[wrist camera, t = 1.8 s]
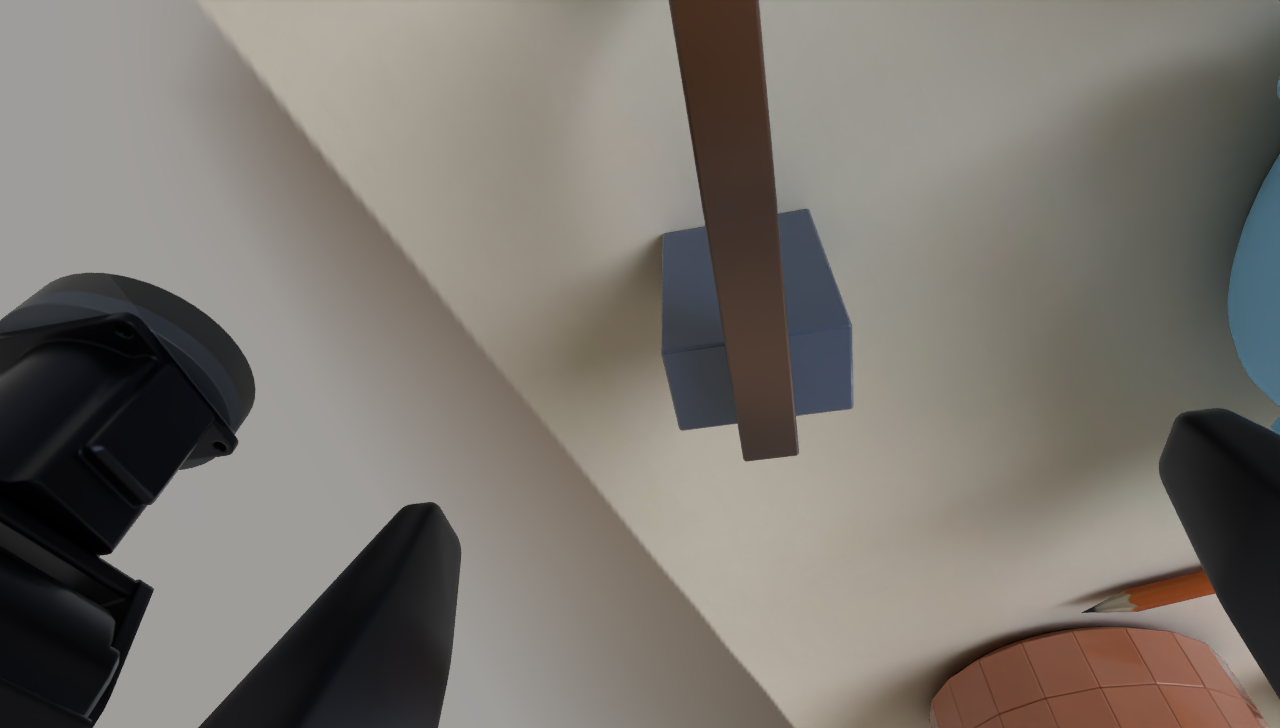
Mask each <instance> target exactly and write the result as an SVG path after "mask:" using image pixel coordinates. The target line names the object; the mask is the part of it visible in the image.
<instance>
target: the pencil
mask: <svg viewBox="0 0 1280 728" xmlns="http://www.w3.org/2000/svg"><path fill="white" fill-rule="evenodd" d="M1210 594H1215V591H1214V589H1213V587H1212V585H1211V583H1210V582H1209V579H1208V577H1207V575H1206V573H1205V571H1201V572H1197V573H1193V574H1189V575H1185V576H1180V577H1176V578H1172V579H1168V580H1164V581H1160V582H1156V583H1152V584H1148V585H1144V586H1140V587H1136V588H1132V589H1127V590H1125V591H1123V592H1121V593H1119V594H1117V595H1115V596H1113V597H1111V598H1109V599H1107V600H1105V601H1103V602H1101V603H1099V604H1097V605H1095V606H1094V607H1092V608H1090V609H1088V610H1086V611H1084V612H1082V613H1089V612H1097V613H1098V612H1138V611H1142V610H1146V609H1151V608H1155V607H1159V606H1164V605H1168V604H1172V603H1176V602H1181V601H1185V600H1189V599H1193V598H1198V597H1202V596H1206V595H1210Z"/></svg>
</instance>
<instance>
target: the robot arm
mask: <svg viewBox="0 0 1280 728" xmlns="http://www.w3.org/2000/svg"><path fill="white" fill-rule="evenodd" d="M125 326H126V327H125ZM237 445H238V440H237V438H236V436H235V435H234V434H233V433H232V431H231V430H230V429H229V428H228V426H227V425H226V424H225V423H224V421H223V420H222V419H221V418H220V416H219V415H218V414H217V413H216V411H215V410H214V409H213V408H212V406H211V405H210V404H209V403H208V401H207V400H206V399H205V398H204V396H203V395H202V394H201V393H200V391H199V390H198V389H197V388H196V386H195V385H194V384H193V383H192V381H191V380H190V379H189V378H188V376H187V375H186V374H185V373H184V371H183V370H182V369H181V368H180V366H179V365H178V364H177V363H176V361H175V360H174V359H173V358H172V357H171V355H170V354H169V353H168V352H167V350H166V349H165V348H164V347H163V345H162V344H161V343H160V342H159V340H158V339H157V338H156V337H155V335H154V334H153V333H152V332H151V330H150V329H149V328H148V327H147V325H146V324H145V323H144V322H143V321H142V320H141V319H140V318H139V317H137V316H136V315H134V314H131V313H128V312H118V313H113V314H107V315H102V316H96V317H90V318H85V319H79V320H73V321H68V322H62V323H56V324H51V325H45V326H39V327H34V328H28V329H22V330H17V331H11V332H5V333H0V728H93V726H94V725H95V723H96V721H97V720H98V718H99V717H100V715H101V714H102V712H103V710H104V708H105V706H106V704H107V702H108V700H109V698H110V696H111V694H112V691H113V689H114V686H115V684H116V682H117V679H118V677H119V674H120V672H121V669H122V667H123V665H124V662H125V659H126V657H127V655H128V652H129V650H130V647H131V645H132V642H133V640H134V637H135V635H136V633H137V630H138V628H139V625H140V622H141V620H142V618H143V615H144V613H145V610H146V608H147V605H148V603H149V601H150V598H151V596H152V593H153V590H154V589H153V588H152V587H151V586H149V585H148V584H146V583H144V582H143V581H141V580H136V581H135V580H134V579H132V578H131V577H129V576H128V575H126V574H124V573H123V572H121V571H120V570H118V569H117V568H115V567H114V566H112V565H111V564H109V563H107V562H106V561H104V560H103V559H101V558H100V557H99V556H100V555H108V554H111V553H112V552H113V550H114V549H115V548H116V546H117V545H118V544H119V542H120V541H121V540H122V538H123V537H124V536H125V535H126V533H127V532H128V530H129V529H130V528H131V527H132V525H133V524H134V522H135V521H136V520H137V519H138V517H139V516H140V515H141V513H142V512H143V511H144V509H145V508H146V507H147V505H151V504H152V503H154V502H155V500H156V499H157V498H158V496H159V495H160V494H161V492H162V491H163V490H164V488H165V487H166V486H167V484H168V483H169V482H170V480H171V479H172V478H173V476H174V475H175V474H176V472H177V471H178V470H179V468H180V467H181V466H182V464H183V463H184V462H185V461H191V460H198V459H205V458H213V457H220V456H227V455H230V454H231V453H232V452H233V451H234V450H235V448H236V447H237ZM1159 473H1160V477H1161V480H1162V483H1163V485H1164V487H1165V489H1166V491H1167V493H1168V495H1169V498H1170V500H1171V502H1172V504H1173V506H1174V508H1175V510H1176V512H1177V514H1178V516H1179V519H1180V521H1181V523H1182V525H1183V527H1184V529H1185V531H1186V533H1187V535H1188V537H1189V540H1190V542H1191V544H1192V546H1193V548H1194V550H1195V552H1196V554H1197V556H1198V558H1199V561H1200V563H1201V565H1202V567H1203V569H1204V571H1205V573H1206V575H1207V577H1208V579H1209V582H1210V583H1211V585H1212V587H1213V589H1214V591H1215V593H1216V595H1217V597H1218V599H1219V601H1220V603H1221V604H1222V606H1223V608H1224V610H1225V611H1226V613H1227V615H1228V616H1229V618H1230V620H1231V621H1232V623H1233V625H1234V626H1235V628H1236V630H1237V631H1238V633H1239V634H1240V636H1241V638H1242V639H1243V641H1244V642H1245V644H1246V646H1247V647H1248V649H1249V651H1250V652H1251V654H1252V655H1253V657H1254V659H1255V660H1256V662H1257V663H1258V665H1259V667H1260V668H1261V670H1262V671H1263V673H1264V675H1265V676H1266V678H1267V680H1268V681H1269V683H1270V684H1271V686H1272V688H1273V689H1274V691H1275V692H1276V694H1277V696H1278V697H1279V699H1280V435H1279V434H1277V433H1275V432H1273V431H1271V430H1269V429H1267V428H1265V427H1262V426H1260V425H1258V424H1256V423H1254V422H1252V421H1250V420H1248V419H1246V418H1244V417H1242V416H1240V415H1238V414H1236V413H1234V412H1231V411H1229V410H1226V409H1220V408H1213V409H1205V410H1196V411H1188V412H1184V413H1181V414H1180V415H1179V416H1178V417H1177V418H1176V419H1175V421H1174V423H1173V426H1172V428H1171V431H1170V434H1169V436H1168V439H1167V441H1166V444H1165V447H1164V449H1163V452H1162V455H1161V457H1160V461H1159ZM460 563H461V546H460V542H459V539H458V537H457V535H456V533H455V532H454V530H453V528H452V527H451V525H450V524H449V522H448V520H447V519H446V517H445V515H444V513H443V512H442V510H441V509H440V507H439V506H438V505H437V504H435V503H433V502H427V503H419V504H411V505H407V506H405V507H403V508H402V509H401V510H400V511H399V512H398V513H397V514H396V515H395V516H394V517H393V518H392V519H391V520H390V521H389V522H388V524H387V525H386V526H385V527H384V528H383V529H382V530H381V531H380V532H379V533H378V534H377V535H376V537H375V538H374V539H373V540H372V541H371V542H370V543H369V544H368V545H367V546H366V547H365V548H364V549H363V551H362V552H361V553H360V554H359V555H358V556H357V557H356V558H355V559H354V560H353V561H352V563H350V565H349V566H348V567H347V568H346V569H345V570H344V571H343V572H342V573H341V574H340V575H339V577H337V579H336V580H335V581H334V582H333V583H332V584H331V585H330V586H329V587H328V588H327V589H326V591H325V592H324V593H323V594H322V595H321V596H320V597H319V598H318V599H317V600H316V601H315V603H313V605H312V606H311V607H310V608H309V609H308V610H307V611H306V612H305V613H304V614H303V615H302V616H301V617H300V619H299V620H298V621H297V622H296V623H295V624H294V625H293V626H292V627H291V628H290V629H289V630H288V632H287V633H286V634H285V635H284V636H283V637H282V638H281V639H280V640H279V641H278V642H277V644H275V645H274V647H273V648H272V649H271V650H270V651H269V652H268V653H267V654H266V655H265V656H264V657H263V659H262V660H261V661H260V662H259V663H258V664H257V665H256V666H255V667H254V668H253V669H252V670H251V671H250V672H249V674H248V675H247V676H246V677H245V678H244V679H243V680H242V681H241V682H240V683H239V684H238V685H237V687H236V688H235V689H234V690H233V691H232V692H231V693H230V694H229V695H228V696H227V697H226V699H225V700H224V701H223V702H222V703H221V704H220V705H219V706H218V707H217V708H216V709H215V710H214V711H213V712H212V714H211V715H210V716H209V717H208V718H207V719H206V720H205V721H204V722H203V723H202V724H201V726H199V728H438V725H439V720H440V715H441V710H442V705H443V700H444V696H445V690H446V686H447V680H448V675H449V669H450V663H451V655H452V646H453V637H454V626H455V616H456V605H457V594H458V584H459V573H460Z"/></svg>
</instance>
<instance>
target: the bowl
mask: <svg viewBox="0 0 1280 728" xmlns="http://www.w3.org/2000/svg"><path fill="white" fill-rule="evenodd" d="M929 722H930V725H931V728H1270V727H1269V726H1268V724H1267V723H1266V721H1265V720H1264V718H1263V717H1262V716H1261V714H1260V713H1259V711H1258V710H1257V708H1256V707H1255V705H1254V704H1253V702H1252V701H1251V699H1250V698H1249V696H1248V695H1247V693H1246V692H1245V690H1244V689H1243V687H1242V686H1241V684H1240V683H1239V681H1238V680H1237V678H1236V677H1235V675H1234V674H1233V672H1232V671H1231V669H1230V668H1229V666H1228V665H1227V663H1226V662H1225V660H1223V659H1222V658H1221V657H1220V656H1219V655H1218V654H1217V653H1216V652H1215V651H1214V650H1213V649H1212V648H1210V647H1209V646H1208V645H1207V644H1205V643H1204V642H1201V641H1198V640H1195V639H1192V638H1189V637H1186V636H1183V635H1180V634H1177V633H1174V632H1169V631H1159V630H1148V629H1138V628H1127V627H1087V628H1077V629H1069V630H1063V631H1057V632H1051V633H1047V634H1043V635H1038V636H1034V637H1031V638H1027V639H1024V640H1021V641H1017V642H1015V643H1012V644H1009V645H1006V646H1004V647H1001V648H999V649H997V650H995V651H993V652H990V653H988V654H986V655H985V656H983V657H981V658H979V659H977V660H976V661H974V662H973V663H971V664H970V665H968V666H967V667H966V668H964V669H963V670H962V671H961V672H959V673H958V674H956V675H954V676H953V677H951V678H950V679H949V680H948V681H947V682H946V683H945V684H944V685H943V687H942V688H941V689H940V690H939V692H938V693H937V694H936V695H935V697H934V698H933V699H932V701H931V708H930V716H929Z"/></svg>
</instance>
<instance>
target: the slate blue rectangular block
mask: <svg viewBox="0 0 1280 728" xmlns="http://www.w3.org/2000/svg"><path fill="white" fill-rule="evenodd" d="M778 222H779V233H780V244H781V255H782V267H783V278H784V289H785V300H786V311H787V323H788V334H789V345H790V356H791V367H792V379H793V390H794V401H795V412H796V416H800V415H808V414H815V413H823V412H831V411H839V410H846V409H851V408H853V353H852V324H851V321H850V319H849V316H848V313H847V311H846V308H845V305H844V303H843V300H842V297H841V294H840V292H839V289H838V286H837V284H836V281H835V278H834V276H833V273H832V270H831V267H830V265H829V262H828V259H827V257H826V254H825V251H824V249H823V246H822V243H821V240H820V238H819V235H818V232H817V230H816V227H815V224H814V222H813V219H812V216H811V213H810V211H809V209H804V210H798V211H792V212H786V213H780V214H778ZM661 354H662V358H663V362H664V367H665V371H666V375H667V379H668V383H669V388H670V392H671V396H672V400H673V404H674V409H675V413H676V417H677V421H678V426H679V428H680V430H682V431H683V430H691V429H699V428H707V427H714V426H722V425H730V424H738V423H737V417H736V410H735V404H734V398H733V392H732V386H731V380H730V374H729V367H728V361H727V355H726V349H725V343H724V337H723V331H722V324H721V318H720V312H719V306H718V300H717V294H716V287H715V281H714V275H713V269H712V263H711V257H710V251H709V244H708V238H707V232H706V226H705V227H699V228H694V229H688V230H682V231H676V232H671V233H665V234H663V235H662V338H661Z"/></svg>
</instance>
